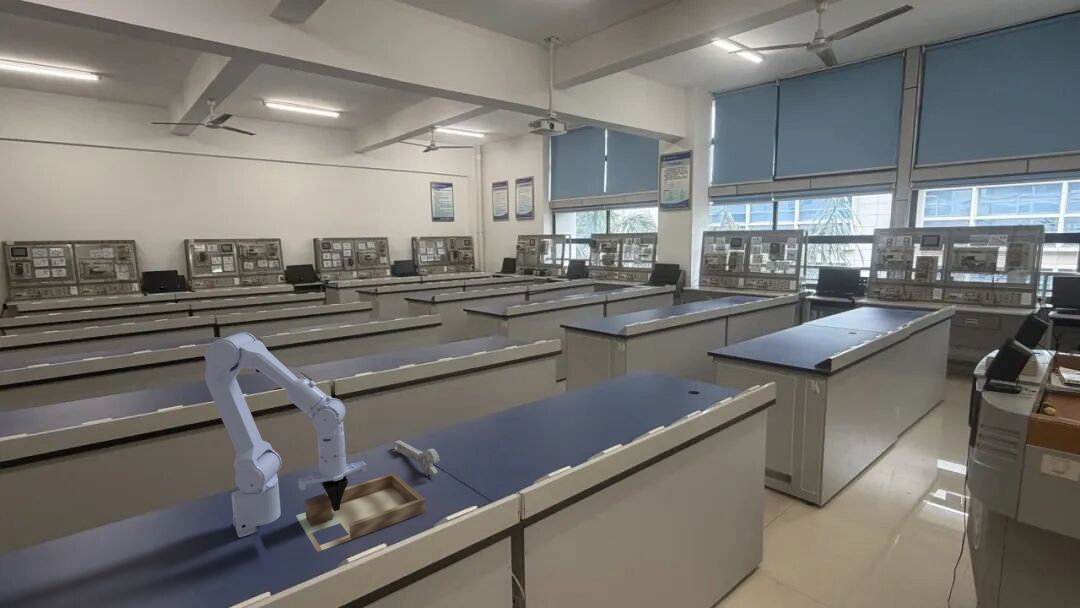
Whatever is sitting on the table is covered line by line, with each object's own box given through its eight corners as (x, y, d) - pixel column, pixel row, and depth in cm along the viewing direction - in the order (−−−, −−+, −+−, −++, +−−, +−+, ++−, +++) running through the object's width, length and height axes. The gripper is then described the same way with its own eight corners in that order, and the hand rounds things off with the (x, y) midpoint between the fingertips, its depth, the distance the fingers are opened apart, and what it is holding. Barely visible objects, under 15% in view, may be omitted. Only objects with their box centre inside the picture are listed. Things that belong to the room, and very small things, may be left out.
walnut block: (311, 526, 111) (309, 507, 110) (306, 518, 114) (304, 499, 114) (332, 519, 114) (331, 500, 113) (326, 511, 117) (325, 493, 116)
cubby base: (317, 557, 102) (316, 538, 101) (295, 520, 116) (294, 503, 115) (425, 516, 117) (425, 499, 116) (395, 488, 131) (394, 472, 130)
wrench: (400, 456, 157) (441, 480, 133) (394, 458, 156) (435, 482, 132) (397, 431, 157) (439, 451, 133) (392, 432, 156) (432, 452, 132)
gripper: (302, 468, 107) (307, 527, 109) (369, 450, 116) (372, 505, 118) (294, 457, 112) (299, 514, 114) (359, 441, 121) (362, 493, 123)
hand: (335, 508), depth 116 cm, fingers closed
